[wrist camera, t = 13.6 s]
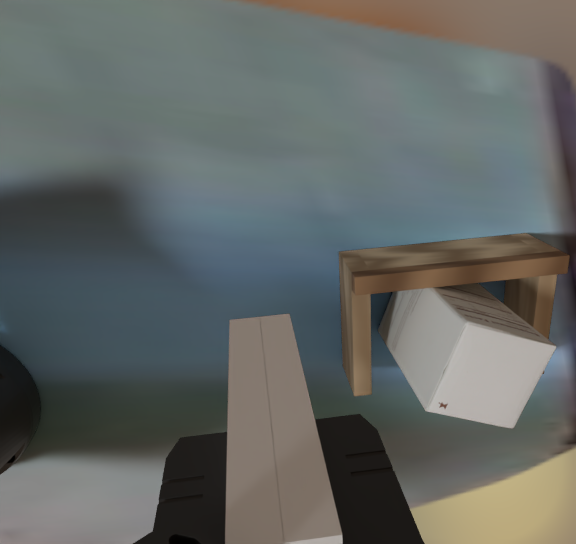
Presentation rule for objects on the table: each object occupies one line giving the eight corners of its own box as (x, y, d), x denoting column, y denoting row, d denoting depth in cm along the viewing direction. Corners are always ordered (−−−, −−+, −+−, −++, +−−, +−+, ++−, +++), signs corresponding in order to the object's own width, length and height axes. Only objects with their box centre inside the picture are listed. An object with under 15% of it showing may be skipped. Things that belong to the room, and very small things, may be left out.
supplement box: (445, 348, 48) (513, 433, 36) (374, 330, 47) (422, 413, 35) (477, 279, 46) (561, 347, 34) (404, 258, 44) (466, 321, 32)
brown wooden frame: (342, 365, 47) (357, 404, 42) (338, 251, 43) (354, 277, 38) (514, 346, 49) (551, 381, 43) (526, 233, 44) (569, 255, 39)
